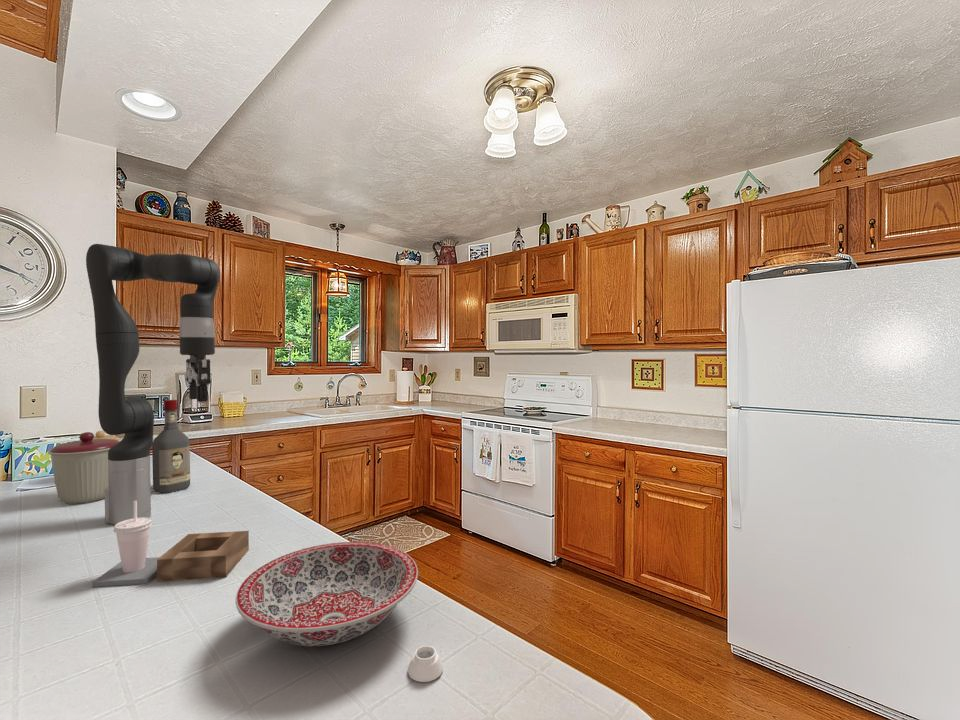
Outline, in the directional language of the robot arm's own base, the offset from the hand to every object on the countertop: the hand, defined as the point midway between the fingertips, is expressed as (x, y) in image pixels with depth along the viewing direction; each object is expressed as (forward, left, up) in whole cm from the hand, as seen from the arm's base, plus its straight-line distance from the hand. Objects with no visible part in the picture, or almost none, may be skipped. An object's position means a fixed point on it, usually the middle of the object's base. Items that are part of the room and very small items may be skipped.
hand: (198, 400), depth 116 cm
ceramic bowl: (+40, -44, -34) cm, 69 cm away
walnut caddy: (+9, -18, -34) cm, 40 cm away
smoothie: (-4, -20, -33) cm, 39 cm away
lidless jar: (+56, -58, -34) cm, 88 cm away
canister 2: (-59, +59, -34) cm, 90 cm away
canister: (-48, +35, -34) cm, 69 cm away
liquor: (-27, +42, -34) cm, 61 cm away
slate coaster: (-4, -20, -34) cm, 40 cm away
